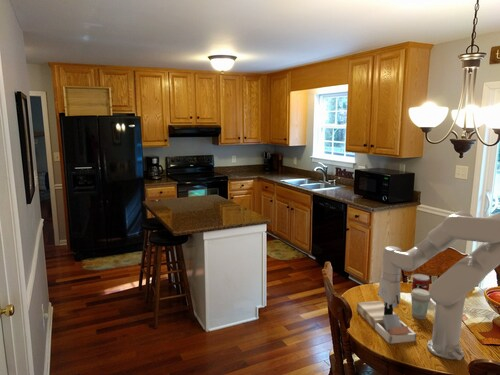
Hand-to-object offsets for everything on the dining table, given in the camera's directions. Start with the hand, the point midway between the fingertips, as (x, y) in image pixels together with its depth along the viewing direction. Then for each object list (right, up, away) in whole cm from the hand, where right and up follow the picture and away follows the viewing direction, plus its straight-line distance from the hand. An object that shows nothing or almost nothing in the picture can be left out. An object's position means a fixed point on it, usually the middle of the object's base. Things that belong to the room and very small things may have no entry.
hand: (388, 315), depth 164 cm
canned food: (+28, -1, +31) cm, 42 cm away
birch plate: (-2, -4, +9) cm, 10 cm away
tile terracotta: (+1, -3, -7) cm, 8 cm away
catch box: (+1, -6, -4) cm, 8 cm away
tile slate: (0, -2, -3) cm, 4 cm away
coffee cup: (+18, -4, +11) cm, 22 cm away
